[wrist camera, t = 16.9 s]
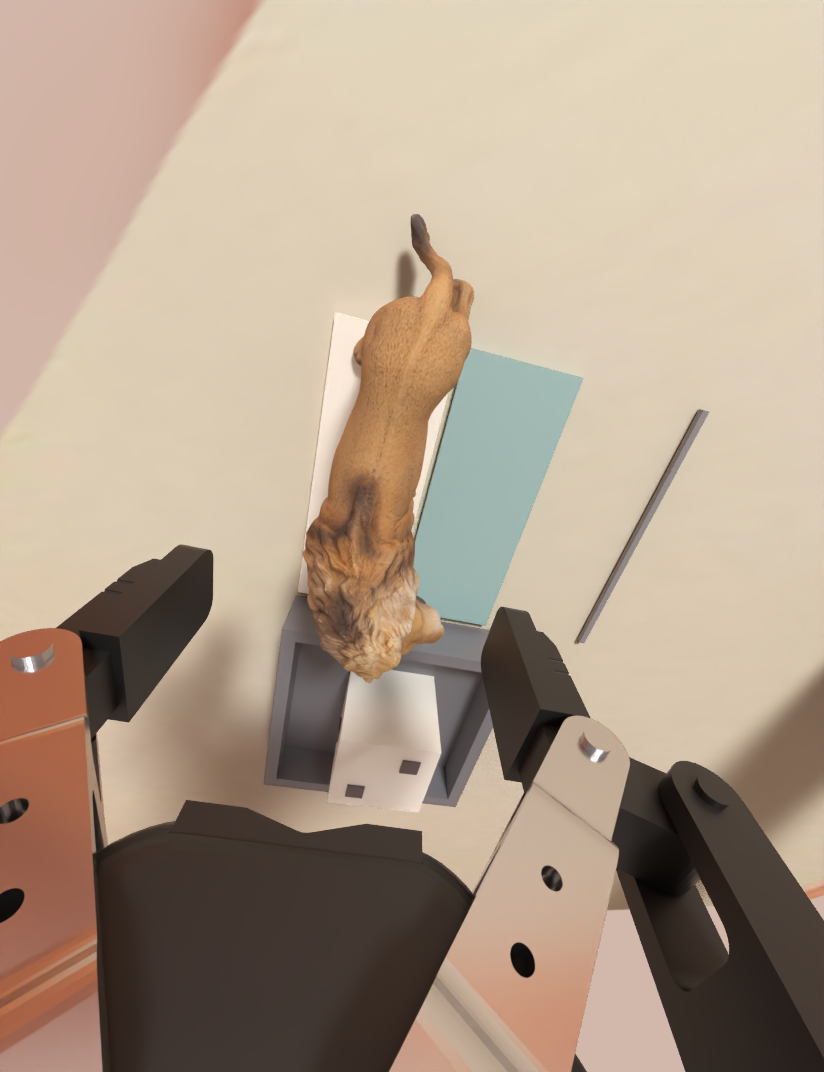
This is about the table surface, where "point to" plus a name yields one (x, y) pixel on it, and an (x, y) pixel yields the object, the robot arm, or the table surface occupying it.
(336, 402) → the track
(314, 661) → the dice tray
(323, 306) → the table surface
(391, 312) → the lion figurine
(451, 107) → the table surface
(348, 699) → the die
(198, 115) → the table surface
